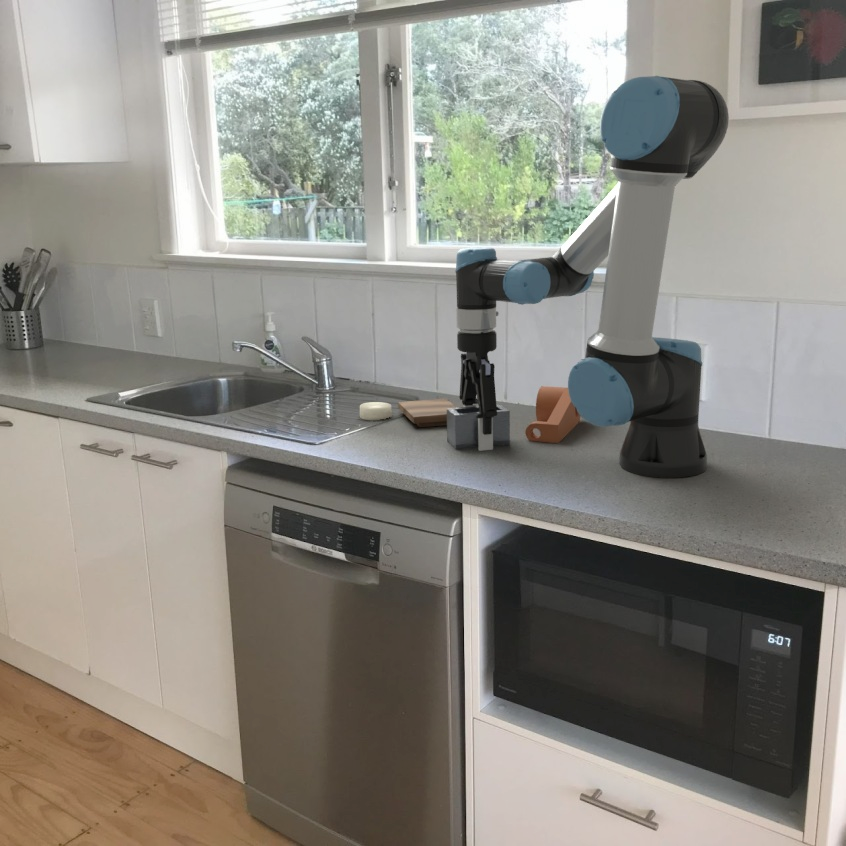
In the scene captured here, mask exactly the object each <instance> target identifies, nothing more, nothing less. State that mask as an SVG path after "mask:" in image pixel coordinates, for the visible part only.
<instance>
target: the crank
mask: <svg viewBox="0 0 846 846" xmlns="http://www.w3.org/2000/svg"><path fill="white" fill-rule="evenodd" d="M535 416H536V417H535V418H536V421H532V422H530V424H529V425H527V427H526V429H525V433H524V434H525V436H526V438H527V439H528V441H530V442H539V443H541V442H543V443H550V444H552V443H553V444H559V443H560V442H561V441H562V440H563V439H564V438H565V437H566V436H567V435H569V433H570V432H571V431H572V430H573V429H574V428H575V427H576V426H577V425H578V424H579V423H580V420H581V416H580V414H579V413H578V412H577V409H576V407H575V406H573V404H572V402H571V399H570V396H569V391H568V387H564V386H563V387H562V386H561V387H559V386H544V385H543V386H540V387H539V388H538V391H537V395H536V402H535ZM534 429H535V430H536V429H537V430H538V431H539V433H540V435H536V434H535V432H534Z"/></svg>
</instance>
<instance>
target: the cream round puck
mask: <svg viewBox="0 0 846 846" xmlns="http://www.w3.org/2000/svg"><path fill="white" fill-rule="evenodd" d="M389 417H390V418H392V404H390V403H388V402H382V401H372V402H371V401H369V402H364V403H361V404H360V405H359V418H360V419H362V420H365V421H366V420H367V421H381V420H380V419H384V420H387V419H386V418H388V419H390V418H389Z"/></svg>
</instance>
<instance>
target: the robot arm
mask: <svg viewBox="0 0 846 846" xmlns="http://www.w3.org/2000/svg"><path fill="white" fill-rule="evenodd" d="M729 118H730V117H729V109H728V106H727V103H726V101H725V98H724V97H723V95H722V93H720V91H718V89H717V88H715V87H714V86H712V85H711V84H709V83H707V82H705V81H702V80H698V79H697V80H696V79H681V78H674V77H665V76H660V75H653V76H638V77H634V78H631V79H628V80H626V81H625V82H623V83H622V84H620V85H619V86H618V87H617V89H616V90H614V91H613V92H612V93H611V95H609V97H608V99H607V101H606V103H605V104H604V106H603V109H602V112H601V116H600V122H599V134H600V138H601V141H602V142H603V143H604V147H605V150H606V151H608V153H609V154H610V155H611V156H610V163H609V169H610V171H611V172H612V173H613V175H614V176H615V177H616V179H617V184H616V185H615V186H614V187H613V188H612V189H611V191H610V192H608V194H607V195H606V196H605V197H604V199H603V200H601V202H600V203H599V204H598V205H597V206H596V208H594V209H593V211H592V212H591V213H590V214H589V215H588V216H587V217H586V219H585V220H584V221H583V222H582V223H581V224H580V225H579V227H577V229H576V230H575V231H574V232H573V233H572V234H571V236H570V237H569V238H568V239H567V240H566V241H565V242H564V243H563V244H562V246H561V247H560V248H558V250H557V251H556V252H555V253H554V254H553V255H552V256H548V257H539V258H529V259H519V260H518V259H516V260H514V259H513V260H508V259H507V260H502V259H498V257H497V252H496V251H497V250H496V249H495V248H493V247H485V246H483V247H482V246H481V247H478V246H477V247H464V248H461V249H459V250H458V251H457V253H456V265H455V278H456V328H457V329H458V330H459V331H458V332H457V333H456V337H457V338H456V341H457V343H456V345H457V350H458V351H459V352H462V353H461V355H460V359H461V360H460V362H461V363H460V364H461V365H460V381H459V383H460V384H459V396H458V397H459V400H460V401H461V404H462V405H463V406H462V407H473V406H479V412H480V414H478V415H477V416H476V417H477V418H478V448H477V449H478V451H479V452H481V451H482V452H483V451H492V450H494V446H493V417H494V416H497V399H496V398H497V396H496V383H495V364H494V363H493V362H492V363H490V360H489V356H488V353H490V352H494V351H495V350H497V347H498V345H497V343H498V342H497V341H498V339H497V337H498V336H497V331H496V330H494V329H495V328H496V327H497V317H499V315H500V314H499V311H497V302H506V303H515V304H518V305H522V306H523V305H535V304H539V303H541V302H542V301H543V300H545V299H551V298H561V297H572V296H575V295H578V294H582V293H584V292H586V291H587V290H588V289H589V288H590V287H591V286H592V283H593V279H594V274H595V272H594V271H595V270H596V269H597V268H598V267H599V266H600V265H601V264H602V262H604V261H605V260H606V259H607V261H606V271H605V278H604V285H603V286H604V287H603V294H602V298H601V299H602V301H601V309H600V315H599V322H598V323H599V324H598V329H597V331H596V332H595V333H593V334H592V335H591V336H589V337H587V343H586V348H585V357H584V358H582V359H580V360H579V361H578V362H577V363H576V364H575V365H574V366H572V368H571V370H570V372H569V375H568V378H567V388H568V391H569V396H570V399H571V402H572V404H573V406H575V407H576V409H577V412H578V413H579V414H580V418H581V417H582V418H583V420H584V421H586V422H588V423H589V424H592V425H593V426H596V427H602V428H605V427H608V428H609V427H612V426H622V425H625V424H627V423H628V422H630V424H629V426H628V429H627V431H626V432H627V433H626V434H625V438H624V440H623V441H622V442H623V443H622V445H621V448H620V451H619V463H618V464H619V466H620V467H621V469H623V471H627V472H629V473H632V474H636V475H639V476H645V477H652V478H663V479H667V478H669V479H677V478H678V479H679V478H686V477H687V478H688V477H693V476H696V475H697V476H698V475H700V474H702V473H704V472H705V471H706V470H707V464H708V461H707V460H708V456H707V452H706V448H705V445H704V442H703V438H702V434H701V431H700V427H699V418H700V417H699V414H700V413H699V412H700V397H701V394H700V393H701V380H702V376H701V375H702V367H703V362H702V348H701V345H699V343H697V342H695V341H692V340H685V339H676V338H668V337H667V338H666V337H653V331H654V324H655V318H656V313H657V312H656V310H657V306H658V305H657V304H658V298H659V294H660V293H659V292H660V286H661V279H662V272H663V265H664V258H665V252H666V247H667V246H666V245H667V240H668V233H669V227H670V221H671V214H672V206H673V200H674V194H675V189H676V188H675V187H676V186H677V185H678V184H679V183H680V182H681V181H682V180H689V179H692V178H693V177H694V176H695V175H696V174H697V173H698V172H699V171H700V170H701V169H702V168H703V167H704V166H705V165H706V164H707V163H708V161H710V159H711V158H712V157H713V156H714V155H715V153H716V152H717V150H718V149H719V148H720V146H721V144H722V143H723V141H724V139H725V137H726V134H727V131H728V127H729ZM488 409H489V410H488Z"/></svg>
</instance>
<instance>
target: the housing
mask: <svg viewBox="0 0 846 846" xmlns="http://www.w3.org/2000/svg"><path fill="white" fill-rule="evenodd" d="M496 405H497V416H494V417H493V447H503V446H510V445H511V444H510V443H511V442H510V441H511V440H510V439H511V438H510V437H511V435H510V434H511V429H510V425H511V422H510V419H511V418H510V417H511V415H510V410H509V409H508V408H506V407H504V406H503V405H502V404H501V403H499V404H497V403H496ZM488 410H489V409H488ZM478 414H480V412H479V406H478V405H477V406H473V407H463V406H462V407H461V406H460V407H457V408H449V409H447V425H446V436H447V438H446V439H447V443H448V444H449V445H450V446H451V447H452V448H453V449H454V450H455V451H456V450H457V451H458V450H467V449H478V418H477V417H476V416H477V415H478Z"/></svg>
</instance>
